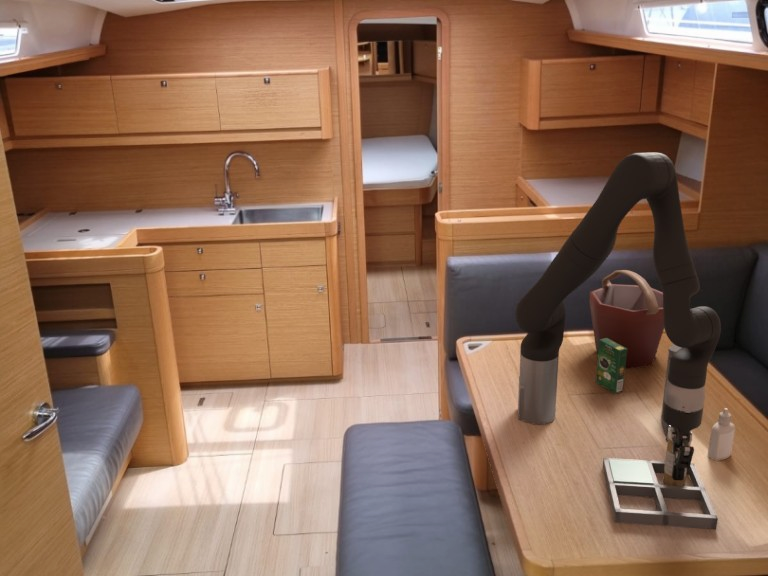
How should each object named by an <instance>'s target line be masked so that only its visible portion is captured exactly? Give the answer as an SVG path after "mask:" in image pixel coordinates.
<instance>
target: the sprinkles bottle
mask: <svg viewBox="0 0 768 576" xmlns="http://www.w3.org/2000/svg"><path fill="white" fill-rule="evenodd" d="M671 432H675V429H674V428H673V427H670V428H669V429H668V442H666V443H667V445H666V446H667V447H666V449H665V451H666V452H665V459H664V461H665V466H664V474H663V478H662V485H671V486H686V483H685V482H686V476H687V475H686V472H687V468H685V472H684V479H683V480H682V481H680V480H673V478H672V471H673V461H674V454H673V453H672V451H671V448H672V439H671ZM690 433H693V432H692V430H691V431H690ZM675 449H676V450H679V448H677V447H676V448H675Z"/></svg>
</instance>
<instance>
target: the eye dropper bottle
mask: <svg viewBox="0 0 768 576" xmlns="http://www.w3.org/2000/svg"><path fill="white" fill-rule="evenodd" d="M718 414H719V415H718V419H717V422H715V423H714V424H713V426H712V427H711V431H710V436H709V443H708V450H707V457H709V458H710V459H712V460H714V461H723V460H725V459H728V458H729V457H730V456H731V455H732V452H733V446H734V439H735V430H736V426H735V425H736V424H734V423H733V422H732V421H731V420H732V414H731V413H730V412H729V409H728V408H727V407H724V408H723V410H722V411H721V412H719V413H718Z"/></svg>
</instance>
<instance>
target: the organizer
mask: <svg viewBox="0 0 768 576" xmlns="http://www.w3.org/2000/svg"><path fill="white" fill-rule="evenodd" d="M602 459H603V460H602V471H603V474H604V475H603V476H604V481H605V484H606V489H607V494H608V497H609V501H610V506H611V511H612V516H613V521H614V523H621V524H624V523H625V524H637V525H650V526H651V525H653V526H664V527H665V526H667V527H681V528H694V529H695V528H696V529H709V530H716V529H717V527H718V526H717V525H718V519H719V518H718V516H717V512H716V511H715V509H714V507H713V504H712V502H711V499H710V497H709V495H708V492H707V490H706V488H705V486H704V484H703V480H702V478H701V476H700V475H699V474H700V473H699V471H698V470H697V467H696V465H695V462H691V464H690V467H689V468H687V472H686V476H689V479H690V482H691V484H692V486H686V485H685V486H671V485H664V484H659V481H658V478H657V476H656V474H663V475H664V466H665V460H650V459H648V460H647V459H633V458H631V459H629V458H616V457H615V458H613V457H603V458H602ZM618 496H627V497H640V498H642V497H643V498H653V501H654V503H655V506H656V510H644V509H629V508H627V509H626V508H621V506H620V502H619V498H618ZM665 499H671V500H672V499H673V500H686V501H687V500H688V501H689V500H691V501H699V504H700V507H701V509H702V510H703V513H692V512H691V513H690V512H689V513H687V512H673V511H668V509H667V508H668V507H667V505H666V502H665Z"/></svg>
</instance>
